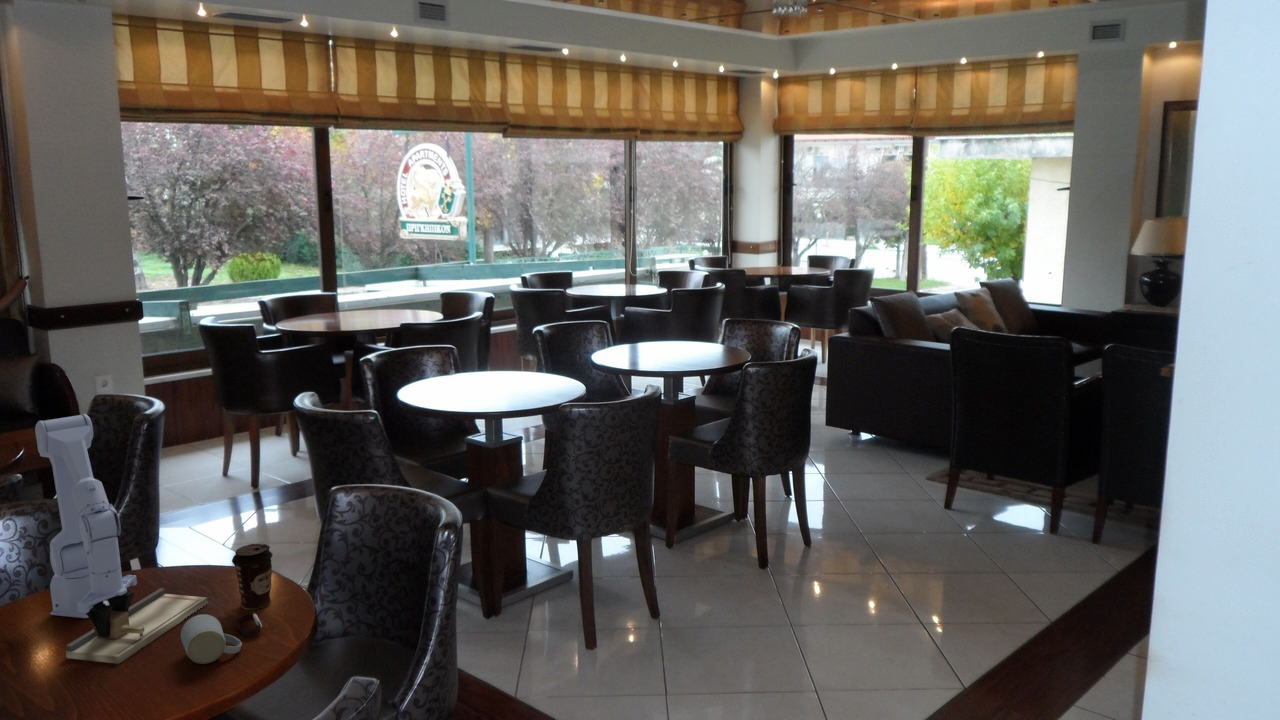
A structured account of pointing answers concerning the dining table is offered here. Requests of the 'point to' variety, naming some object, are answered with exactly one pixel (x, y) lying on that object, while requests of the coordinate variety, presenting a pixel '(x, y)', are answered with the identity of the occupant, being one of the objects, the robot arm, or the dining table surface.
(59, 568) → the robot arm
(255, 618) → the watch
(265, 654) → the dining table surface
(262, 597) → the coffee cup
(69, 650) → the cream flat tray
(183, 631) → the ceramic mug
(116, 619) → the marking gauge
